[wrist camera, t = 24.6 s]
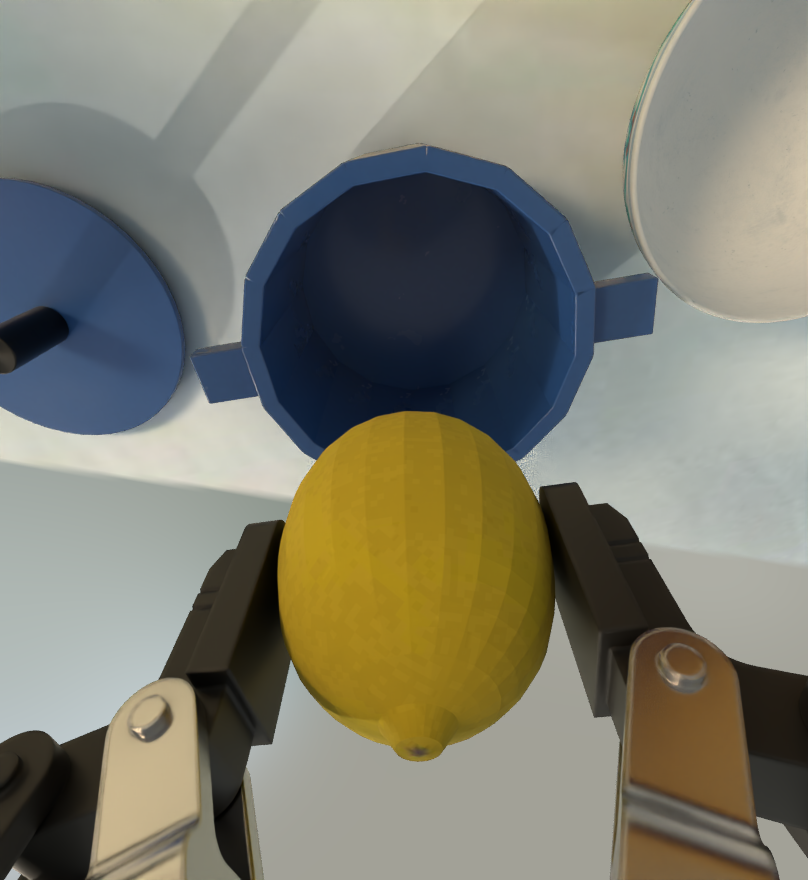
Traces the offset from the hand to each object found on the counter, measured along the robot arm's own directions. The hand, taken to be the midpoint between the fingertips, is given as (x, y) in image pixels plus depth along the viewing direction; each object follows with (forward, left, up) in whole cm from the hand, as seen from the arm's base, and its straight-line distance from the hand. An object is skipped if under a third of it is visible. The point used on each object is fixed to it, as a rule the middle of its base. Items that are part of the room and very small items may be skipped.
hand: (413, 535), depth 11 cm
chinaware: (-5, +17, -22) cm, 28 cm away
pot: (0, 0, -22) cm, 22 cm away
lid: (-2, -22, -21) cm, 30 cm away
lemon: (0, 0, -4) cm, 4 cm away
